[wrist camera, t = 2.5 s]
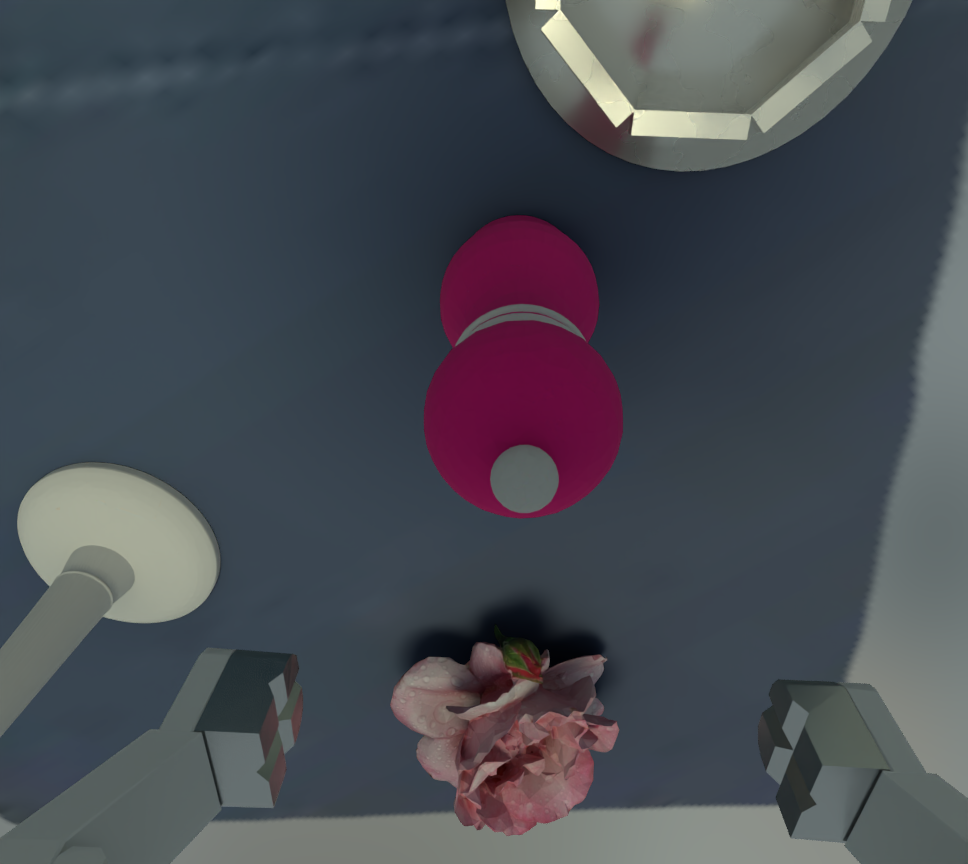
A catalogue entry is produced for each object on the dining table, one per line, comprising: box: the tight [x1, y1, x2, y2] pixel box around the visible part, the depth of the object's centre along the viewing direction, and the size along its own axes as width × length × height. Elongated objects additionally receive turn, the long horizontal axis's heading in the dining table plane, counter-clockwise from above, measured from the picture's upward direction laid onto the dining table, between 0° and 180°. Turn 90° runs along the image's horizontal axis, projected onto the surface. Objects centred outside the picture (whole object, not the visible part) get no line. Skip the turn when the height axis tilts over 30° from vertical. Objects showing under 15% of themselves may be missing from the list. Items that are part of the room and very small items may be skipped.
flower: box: [390, 624, 619, 836], centre depth 44 cm, size 15×15×10 cm
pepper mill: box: [424, 215, 623, 518], centre depth 25 cm, size 7×7×20 cm
